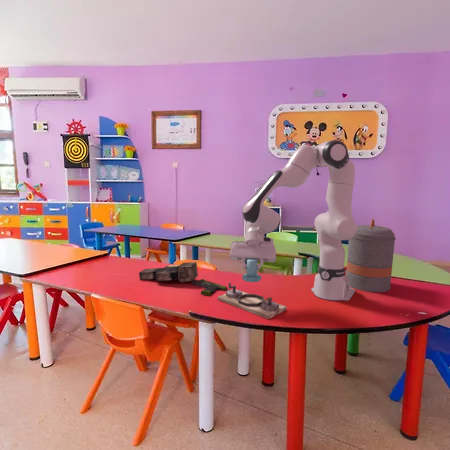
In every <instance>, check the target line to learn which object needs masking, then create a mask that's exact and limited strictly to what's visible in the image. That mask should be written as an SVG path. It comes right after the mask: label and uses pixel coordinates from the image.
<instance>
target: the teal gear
mask: <svg viewBox="0 0 450 450" xmlns="http://www.w3.org/2000/svg"><path fill="white" fill-rule="evenodd" d="M246 264H247V269H246V273H243V275H242V276H241V278H242V279H241V280H243V281H244V282H246V283H248V282H249V283H257V282H260V281H261V280H262V276H261V275H260V274H258V270H257V265H258V261H257V260H256V259H248V260H247V261H246Z"/></svg>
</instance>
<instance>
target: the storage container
mask: <svg viewBox="0 0 450 450" xmlns="http://www.w3.org/2000/svg"><path fill="white" fill-rule="evenodd" d="M395 236H396V235H395V233H394V232H393V230H392V229H391V228H389V227H386V226H383V225H382V226H381V225H376V224H375V219H374V218H372V219H371V221H370V224H361V225H360V224H359V225H357V232H356V234H355V236H354V237H353V238H352V239H350V240H348V245H347V260H346V266H347V270H345V275H346V276H347V277H348V278H349V279H350V288H352V289H354V290H355V289H356V290H358V291H362V292H369V293H370V292H371V293H384V292H387V291H390V290H391V283H392V272H393V271H392V270H393V264H394V263H393V260H394V252H395V244H396V243H395V241H396V239H397V238H396V237H395Z"/></svg>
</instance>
